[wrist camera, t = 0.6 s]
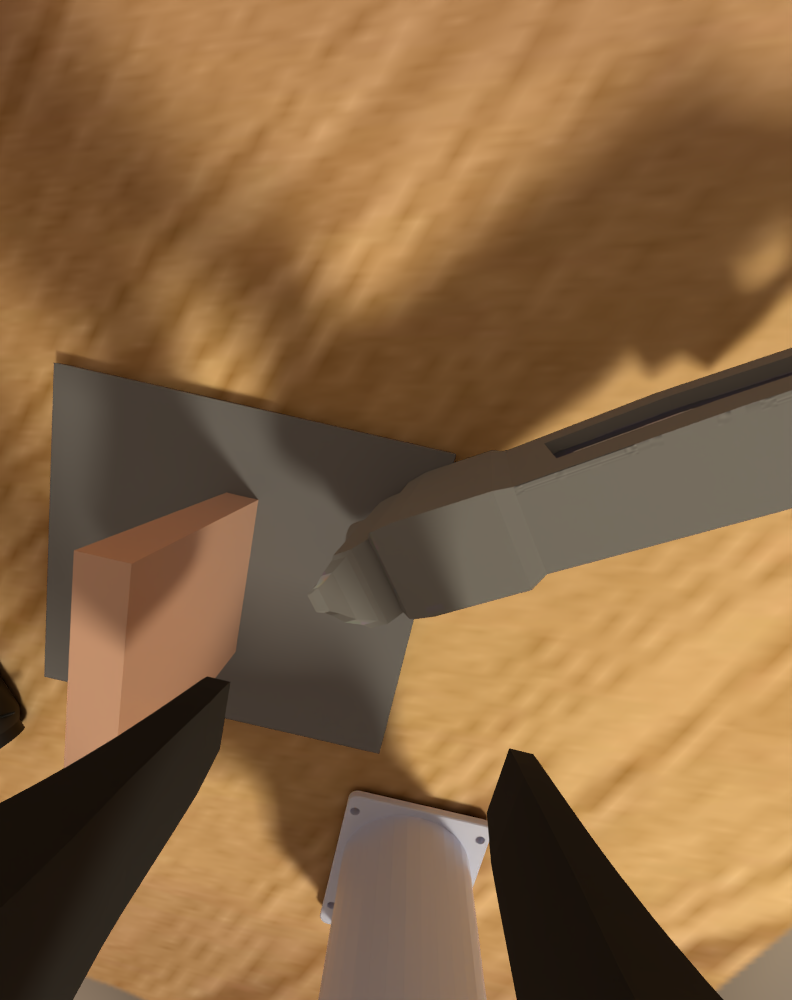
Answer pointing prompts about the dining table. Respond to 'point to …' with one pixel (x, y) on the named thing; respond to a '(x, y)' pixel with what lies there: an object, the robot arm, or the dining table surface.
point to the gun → (571, 498)
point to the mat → (275, 545)
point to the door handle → (8, 716)
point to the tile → (153, 615)
